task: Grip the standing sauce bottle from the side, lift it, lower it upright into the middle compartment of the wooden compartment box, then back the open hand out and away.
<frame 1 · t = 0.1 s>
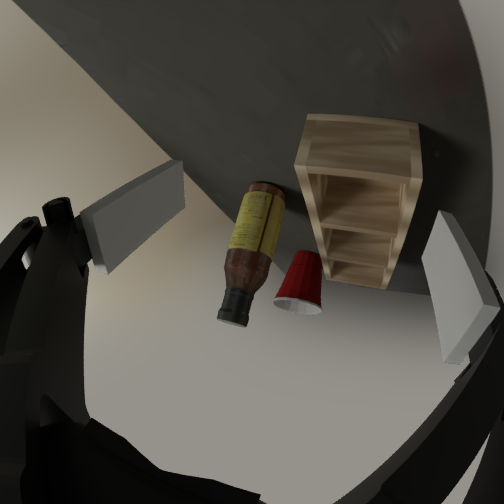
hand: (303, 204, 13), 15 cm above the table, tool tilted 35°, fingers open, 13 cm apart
wooden compartment box: (364, 202, 37), on the table
plastic cup: (310, 254, 62), on the table
sauce bottle: (268, 191, 43), on the table
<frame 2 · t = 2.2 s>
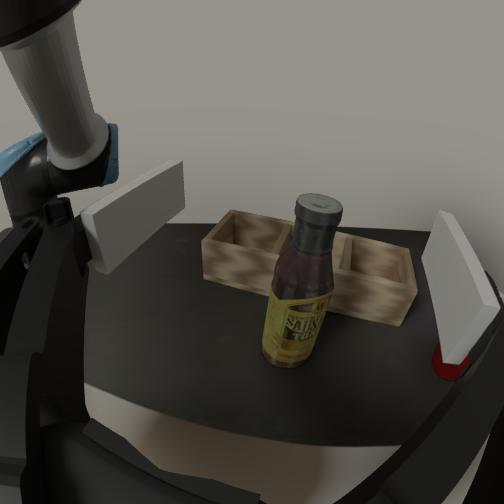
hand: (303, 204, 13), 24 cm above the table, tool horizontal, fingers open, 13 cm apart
wooden compartment box: (307, 281, 46), on the table
plastic cup: (445, 365, 32), on the table
sauce bottle: (286, 351, 35), on the table
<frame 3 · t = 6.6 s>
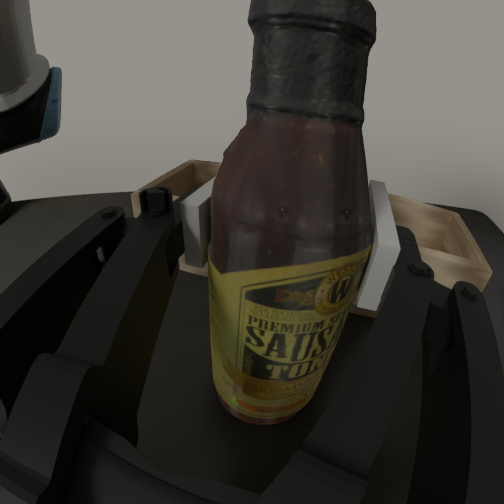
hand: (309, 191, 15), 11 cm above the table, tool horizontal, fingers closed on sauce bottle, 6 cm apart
wooden compartment box: (306, 263, 28), on the table
sauce bottle: (265, 387, 17), on the table, touching gripper
when the fingers open (13 cm above the table, at t = 11.9 s): sauce bottle drops 1 cm, resting on wooden compartment box.
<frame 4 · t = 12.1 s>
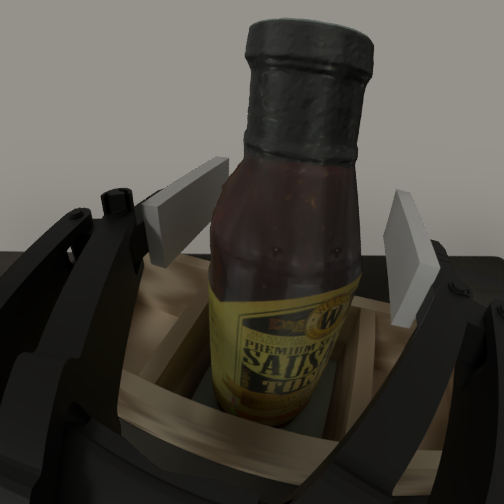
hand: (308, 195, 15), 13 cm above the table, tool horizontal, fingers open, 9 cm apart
wooden compartment box: (263, 402, 19), on the table
sauce bottle: (263, 396, 18), point 1 cm above the table, touching wooden compartment box
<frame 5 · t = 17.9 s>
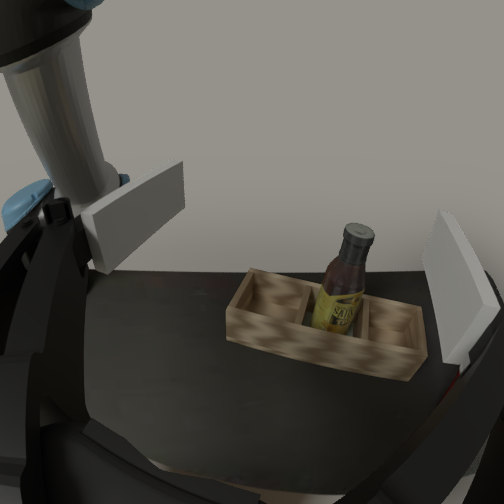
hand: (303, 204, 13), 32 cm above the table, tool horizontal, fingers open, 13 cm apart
wooden compartment box: (325, 339, 46), on the table
sauce bottle: (326, 335, 46), point 1 cm above the table, touching wooden compartment box
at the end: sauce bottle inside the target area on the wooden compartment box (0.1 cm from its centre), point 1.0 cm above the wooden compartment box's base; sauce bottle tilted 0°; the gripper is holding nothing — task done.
